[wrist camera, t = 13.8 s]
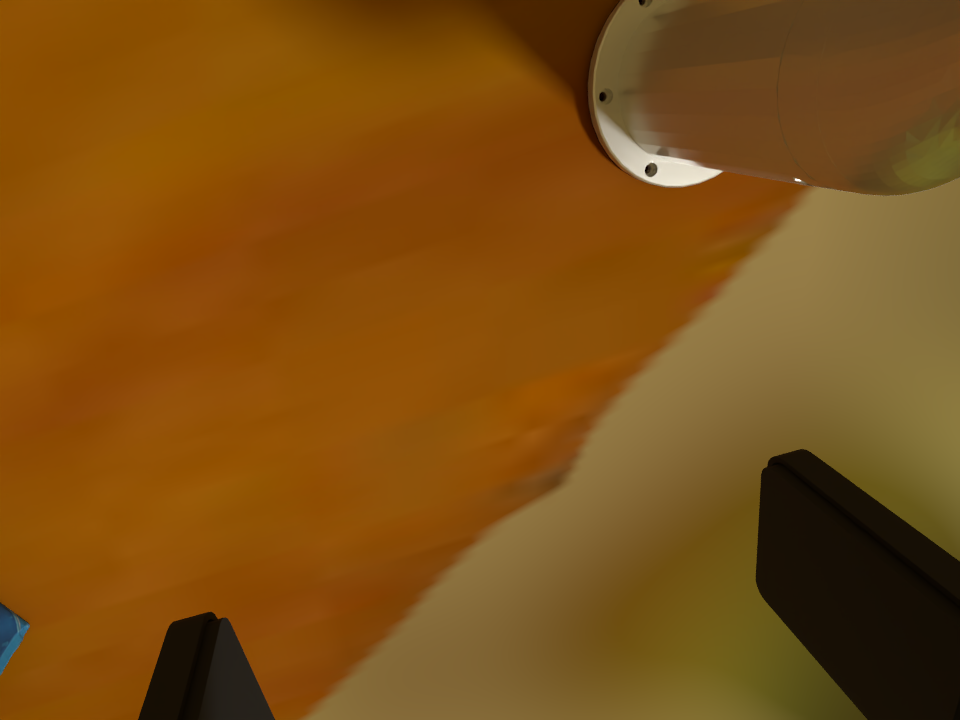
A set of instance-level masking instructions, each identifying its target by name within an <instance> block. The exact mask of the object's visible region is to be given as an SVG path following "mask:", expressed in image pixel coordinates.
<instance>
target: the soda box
mask: <svg viewBox="0 0 960 720" xmlns="http://www.w3.org/2000/svg"><path fill="white" fill-rule="evenodd" d="M29 627H30V625H29V624H28V622H26V621H25V620H23V619H22V618H20V617H19V616H18V615H16V614H15V613H14V612H12V611H11V610H10V609H8V608H7V607H6V606H4V605H3V604H2V603H0V675H1V673H2V672H3V670H4V668H5V667H6V665H7V663H8V661H9V660H10V658H11V656H12V654H13V653H14V652H15V651H16V649H17V648H18V647H19V645H20V643H21V642H22V640H23V638H24V635H25V633H26V631H27V630H28V628H29Z"/></svg>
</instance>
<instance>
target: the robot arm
mask: <svg viewBox="0 0 960 720" xmlns="http://www.w3.org/2000/svg"><path fill="white" fill-rule="evenodd" d="M601 92H602V93H603V95H604V98H603V100H602V101H600V99H599V95H600V93H601ZM588 105H589V110H590V115H591V120H592V124H593V127H594V129H595V132H596V134H597V137H598V139H599V142H600V144H601V145H602V147H603V148H604V150H605V151H606V153H607V154H608V156H609V158H610V159H611V160H612V161H613V162H614V163H615V164H616V165H617V166H618V167H619V168H620V169H621V170H623V171H624V172H626V173H627V174H629V175H631V176H632V177H634V178H635V179H638V180H640V181H643V182H646V183H649V184H652V185H657V186H662V187H686V186H691V185H695V184H699V183H702V182H704V181H706V180H709V179H711V178H714V177H716V176H717V175H719V174H720V173H722V172H723V171H726V172H732V173H738V174H744V175H750V176H756V177H762V178H768V179H774V180H780V181H786V182H791V183H797V184H803V185H809V186H815V187H821V188H827V189H834V190H840V191H846V192H853V193H859V194H866V195H880V196H894V195H905V194H912V193H916V192H921V191H925V190H929V189H933V188H936V187H939V186H941V185H944V184H946V183H949V182H951V181H953V180H955V179H958V178H960V0H642V4H641V5H640V4H639V0H620V1H619V3H618V4H617V6H616V7H615V8H614V10H613V11H612V13H611V14H610V15H609V17H608V18H607V20H606V22H605V24H604V26H603V28H602V30H601V32H600V35H599V37H598V39H597V42H596V45H595V48H594V52H593V55H592V58H591V62H590V70H589V77H588ZM646 166H648V170H647V171H646V172H645V167H646ZM756 583H757V587H758V589H759V592H760V594H761V595H762V597H763V598H764V600H765V601H766V602H767V603H768V605H769V606H770V607H771V608H772V609H773V610H774V611H775V613H776V614H777V615H778V616H779V617H780V618H781V620H782V621H783V622H784V623H785V624H786V625H787V627H788V628H789V629H790V630H791V631H792V632H793V633H794V635H795V636H796V637H797V638H798V639H799V640H800V642H801V643H802V644H803V645H804V646H805V647H806V649H807V650H808V651H809V652H810V653H811V654H812V656H813V657H814V658H815V659H816V660H817V661H818V663H819V664H820V665H821V666H822V667H823V668H824V670H825V671H826V672H827V673H828V674H829V675H830V676H831V678H832V679H833V680H834V681H835V682H836V683H837V685H838V686H839V687H840V688H841V689H842V690H843V692H844V693H845V694H846V695H847V696H848V697H849V698H850V700H851V701H852V702H853V703H854V704H855V705H856V707H857V708H858V709H859V710H860V711H861V712H862V713H863V715H864V716H865V717H866V718H867V719H868V720H960V561H958V560H957V559H955V558H954V557H952V556H951V555H950V554H949V553H947V552H946V551H945V550H943V549H942V548H941V547H939V546H938V545H936V544H935V543H934V542H932V541H931V540H930V539H928V538H927V537H926V536H924V535H923V534H921V533H920V532H919V531H917V530H916V529H915V528H913V527H912V526H911V525H909V524H908V523H906V522H905V521H904V520H902V519H901V518H900V517H898V516H897V515H895V514H894V513H893V512H891V511H890V510H889V509H887V508H886V507H885V506H883V505H882V504H880V503H879V502H878V501H877V500H875V499H874V498H872V497H871V496H870V495H868V494H867V493H866V492H864V491H863V490H862V489H860V488H859V487H857V486H856V485H855V484H853V483H852V482H851V481H849V480H848V479H847V478H845V477H844V476H842V475H841V474H840V473H838V472H837V471H836V470H834V469H833V468H831V467H830V466H829V465H827V464H826V463H825V462H823V461H822V460H821V459H819V458H818V457H816V456H815V455H814V454H812V453H811V452H809V451H807V450H804V449H800V450H796V451H793V452H789V453H786V454H782V455H778V456H774V457H772V458H771V459H770V460H769V461H768V466H767V467H766V468H764V469H763V471H762V474H761V491H760V509H759V527H758V546H757V564H756ZM138 720H275V719H274V717H273V714H272V712H271V710H270V708H269V706H268V704H267V701H266V699H265V697H264V695H263V693H262V691H261V688H260V686H259V684H258V682H257V680H256V678H255V675H254V673H253V671H252V669H251V667H250V665H249V662H248V660H247V658H246V656H245V654H244V652H243V649H242V647H241V645H240V643H239V641H238V639H237V636H236V634H235V632H234V630H233V628H232V626H231V623H230V622H229V620H228V619H227V618H221V619H217V617H216V616H215V614H214V613H212V612H207V613H204V614H200V615H196V616H193V617H189V618H185V619H182V620H178V621H174V622H173V623H172V624H171V625H170V626H169V628H168V630H167V633H166V636H165V639H164V642H163V645H162V648H161V651H160V655H159V658H158V661H157V664H156V667H155V670H154V673H153V676H152V679H151V682H150V685H149V688H148V691H147V694H146V697H145V700H144V703H143V706H142V709H141V712H140V716H139V719H138Z"/></svg>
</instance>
